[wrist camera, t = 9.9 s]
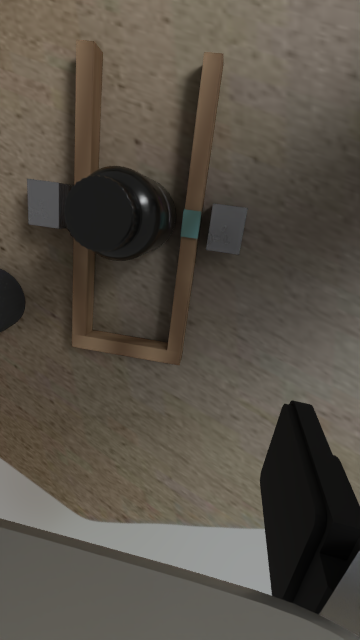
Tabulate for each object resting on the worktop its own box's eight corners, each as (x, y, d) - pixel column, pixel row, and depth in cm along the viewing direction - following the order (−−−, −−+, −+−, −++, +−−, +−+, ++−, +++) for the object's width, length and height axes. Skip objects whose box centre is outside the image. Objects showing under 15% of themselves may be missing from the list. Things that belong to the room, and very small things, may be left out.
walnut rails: (223, 64, 27) (224, 51, 25) (182, 357, 36) (179, 366, 34) (85, 51, 28) (74, 37, 26) (79, 339, 37) (70, 347, 35)
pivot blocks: (245, 208, 30) (247, 208, 28) (237, 250, 32) (239, 254, 29) (44, 181, 32) (27, 178, 29) (45, 223, 33) (28, 224, 30)
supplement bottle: (191, 208, 31) (173, 206, 20) (150, 263, 33) (113, 290, 22) (134, 161, 30) (81, 132, 19) (96, 221, 33) (29, 226, 21)
